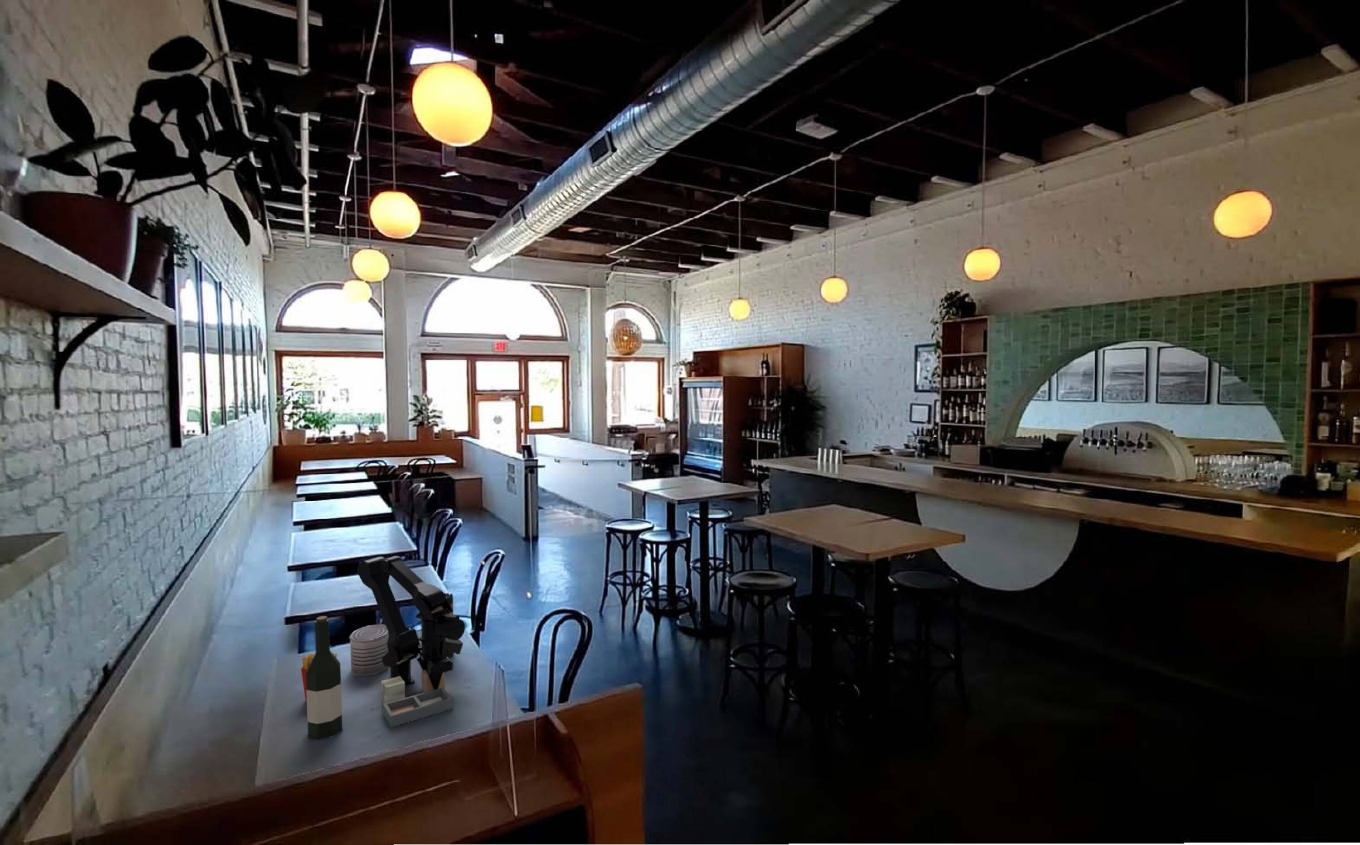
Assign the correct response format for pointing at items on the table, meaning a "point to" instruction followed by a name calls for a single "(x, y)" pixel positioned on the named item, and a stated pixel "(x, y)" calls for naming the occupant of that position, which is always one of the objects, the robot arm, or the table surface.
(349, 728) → the table surface
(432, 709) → the pocket frame
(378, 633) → the can
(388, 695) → the ivory block
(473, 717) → the table surface
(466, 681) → the table surface
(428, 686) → the terracotta block
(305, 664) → the french fries
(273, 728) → the table surface
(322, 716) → the wine bottle
